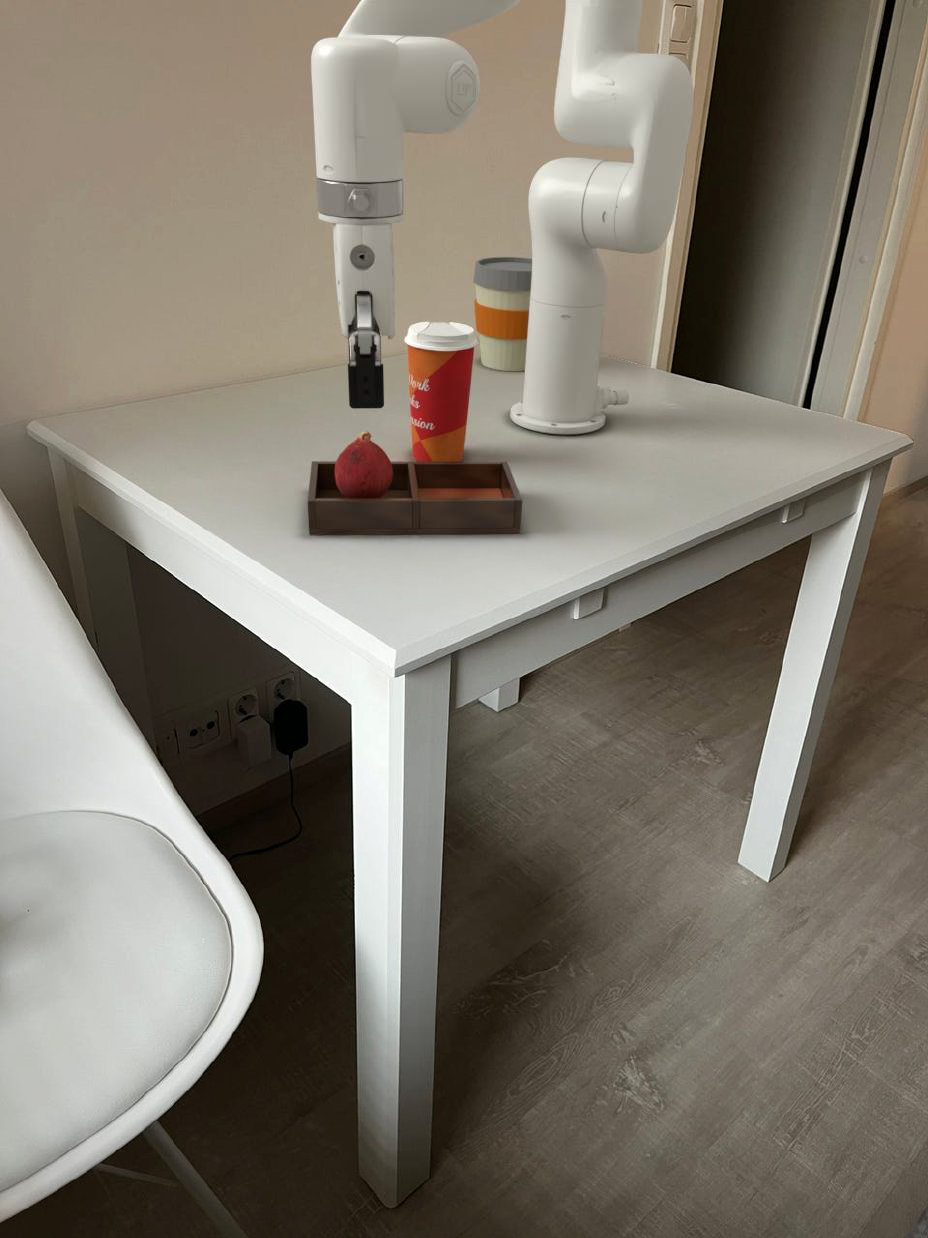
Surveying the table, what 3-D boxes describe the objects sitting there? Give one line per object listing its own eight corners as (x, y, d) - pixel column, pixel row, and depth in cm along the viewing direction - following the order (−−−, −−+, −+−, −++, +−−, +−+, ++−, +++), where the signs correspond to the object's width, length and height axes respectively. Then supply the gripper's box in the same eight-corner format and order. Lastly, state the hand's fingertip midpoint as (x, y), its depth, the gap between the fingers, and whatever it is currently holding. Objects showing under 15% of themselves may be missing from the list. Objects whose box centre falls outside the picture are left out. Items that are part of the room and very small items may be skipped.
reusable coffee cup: (487, 349, 160) (492, 253, 153) (559, 359, 156) (568, 262, 148) (457, 366, 150) (460, 265, 142) (533, 378, 146) (541, 274, 138)
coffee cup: (402, 444, 118) (403, 318, 111) (469, 444, 119) (474, 320, 112) (404, 469, 111) (405, 336, 103) (475, 469, 112) (482, 338, 104)
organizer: (505, 492, 106) (507, 461, 104) (520, 533, 97) (522, 500, 95) (313, 492, 104) (311, 460, 102) (309, 535, 94) (307, 500, 93)
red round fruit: (369, 523, 96) (368, 446, 92) (323, 509, 99) (321, 433, 95) (403, 505, 100) (403, 430, 96) (358, 492, 103) (357, 419, 99)
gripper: (408, 216, 78) (409, 420, 87) (399, 188, 93) (401, 365, 102) (314, 215, 77) (325, 421, 86) (320, 187, 92) (329, 365, 101)
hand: (366, 390), depth 94 cm, fingers open, 9 cm apart
